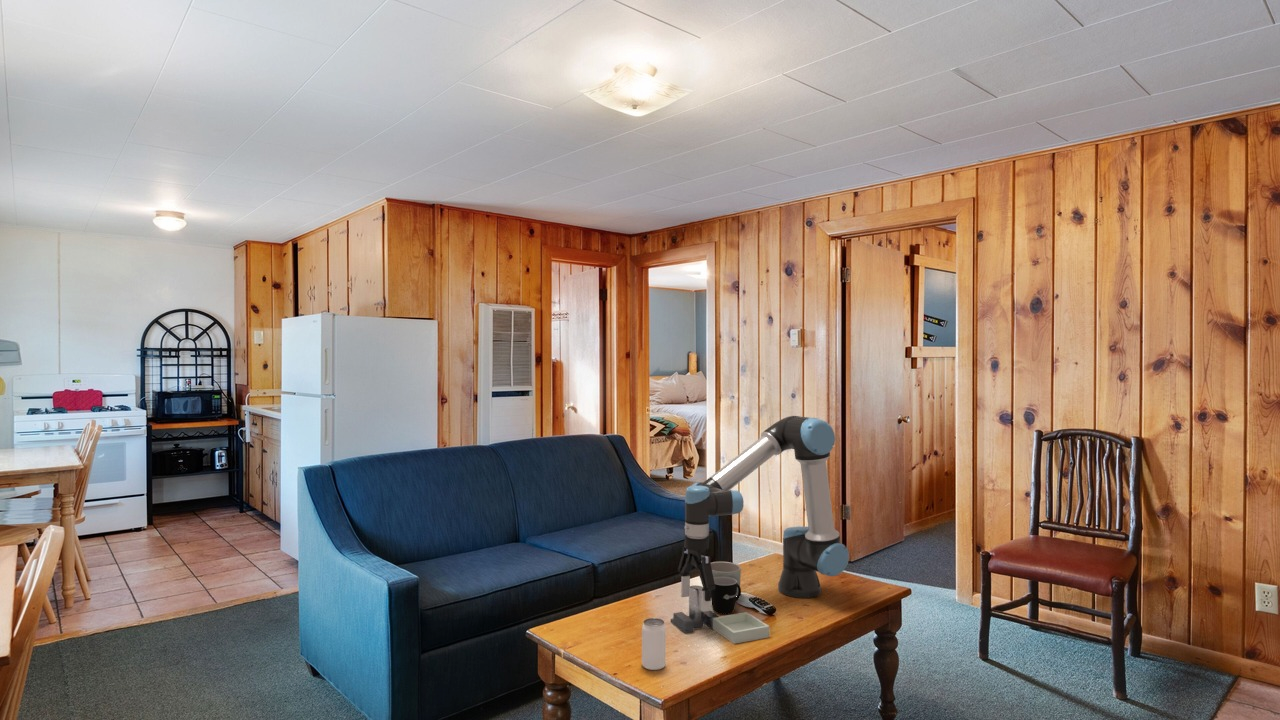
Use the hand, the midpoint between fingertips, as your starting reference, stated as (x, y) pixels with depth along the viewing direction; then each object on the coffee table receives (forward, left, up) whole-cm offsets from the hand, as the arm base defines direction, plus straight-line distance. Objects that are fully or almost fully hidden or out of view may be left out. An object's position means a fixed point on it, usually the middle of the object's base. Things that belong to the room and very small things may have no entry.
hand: (695, 603), depth 215 cm
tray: (-10, +10, -7) cm, 16 cm away
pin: (0, 0, -7) cm, 7 cm away
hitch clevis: (0, 0, -7) cm, 7 cm away
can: (+24, +20, -7) cm, 32 cm away
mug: (-16, -8, -7) cm, 20 cm away
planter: (-21, -19, -7) cm, 29 cm away
